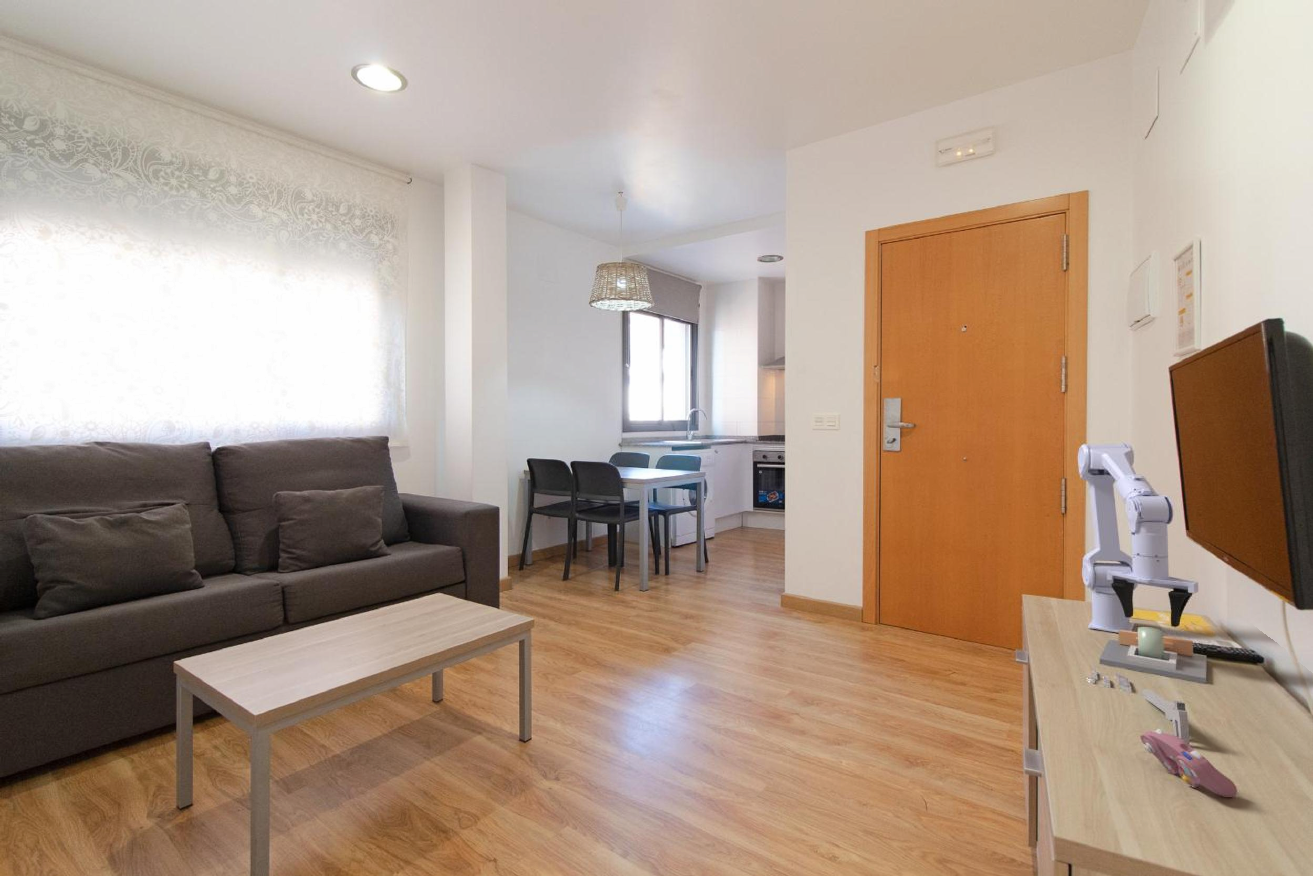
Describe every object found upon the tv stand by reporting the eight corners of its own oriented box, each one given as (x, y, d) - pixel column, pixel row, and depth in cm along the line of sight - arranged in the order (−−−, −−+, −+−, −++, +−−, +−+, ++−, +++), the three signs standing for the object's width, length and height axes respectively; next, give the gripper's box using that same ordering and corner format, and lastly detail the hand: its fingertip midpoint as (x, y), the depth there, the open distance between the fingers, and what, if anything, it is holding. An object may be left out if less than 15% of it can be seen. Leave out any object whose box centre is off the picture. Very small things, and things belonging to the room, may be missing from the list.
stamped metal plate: (1131, 695, 109) (1131, 687, 109) (1084, 688, 113) (1084, 680, 113) (1126, 680, 116) (1125, 672, 116) (1082, 673, 119) (1081, 666, 119)
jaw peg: (1138, 654, 124) (1137, 625, 124) (1164, 658, 121) (1163, 629, 121) (1138, 660, 121) (1137, 631, 121) (1164, 665, 118) (1163, 634, 118)
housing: (1109, 644, 133) (1108, 634, 134) (1206, 660, 123) (1206, 649, 123) (1099, 663, 122) (1099, 653, 122) (1206, 683, 112) (1205, 672, 112)
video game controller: (1150, 771, 87) (1127, 728, 87) (1179, 756, 87) (1155, 713, 87) (1213, 813, 77) (1186, 765, 77) (1245, 797, 77) (1218, 748, 77)
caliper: (1190, 748, 90) (1189, 706, 90) (1180, 747, 90) (1179, 705, 90) (1147, 695, 108) (1146, 660, 108) (1140, 694, 109) (1139, 659, 109)
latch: (1119, 642, 131) (1119, 629, 131) (1193, 654, 123) (1192, 640, 123) (1118, 645, 129) (1117, 632, 129) (1192, 657, 121) (1192, 644, 121)
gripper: (1099, 552, 127) (1101, 616, 127) (1188, 563, 115) (1190, 634, 115) (1114, 547, 131) (1115, 610, 131) (1201, 558, 118) (1203, 627, 118)
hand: (1151, 621), depth 123 cm, fingers open, 7 cm apart
